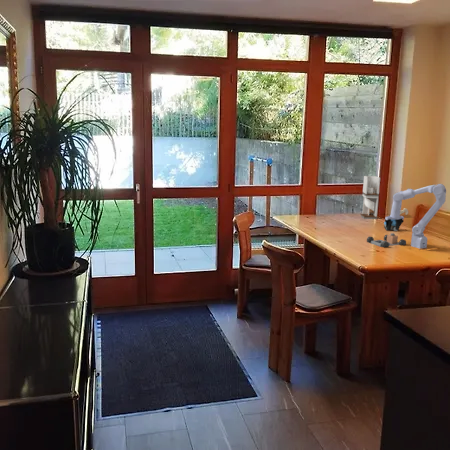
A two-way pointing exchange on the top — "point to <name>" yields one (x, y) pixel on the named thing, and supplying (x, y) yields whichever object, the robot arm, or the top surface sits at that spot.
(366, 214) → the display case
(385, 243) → the chassis
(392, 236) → the block
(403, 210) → the toy excavator
